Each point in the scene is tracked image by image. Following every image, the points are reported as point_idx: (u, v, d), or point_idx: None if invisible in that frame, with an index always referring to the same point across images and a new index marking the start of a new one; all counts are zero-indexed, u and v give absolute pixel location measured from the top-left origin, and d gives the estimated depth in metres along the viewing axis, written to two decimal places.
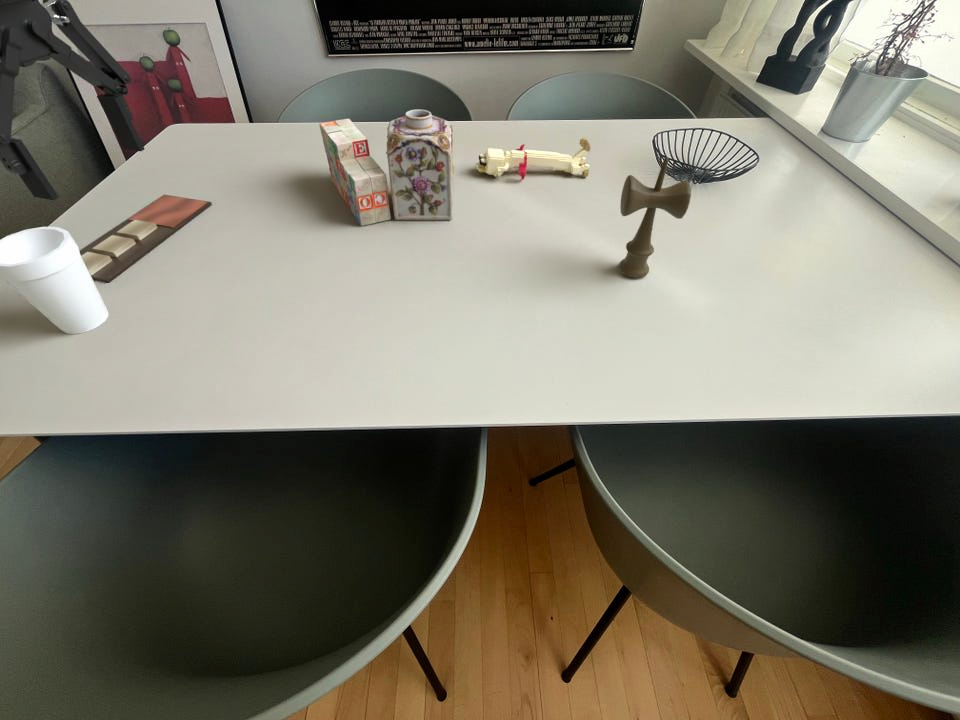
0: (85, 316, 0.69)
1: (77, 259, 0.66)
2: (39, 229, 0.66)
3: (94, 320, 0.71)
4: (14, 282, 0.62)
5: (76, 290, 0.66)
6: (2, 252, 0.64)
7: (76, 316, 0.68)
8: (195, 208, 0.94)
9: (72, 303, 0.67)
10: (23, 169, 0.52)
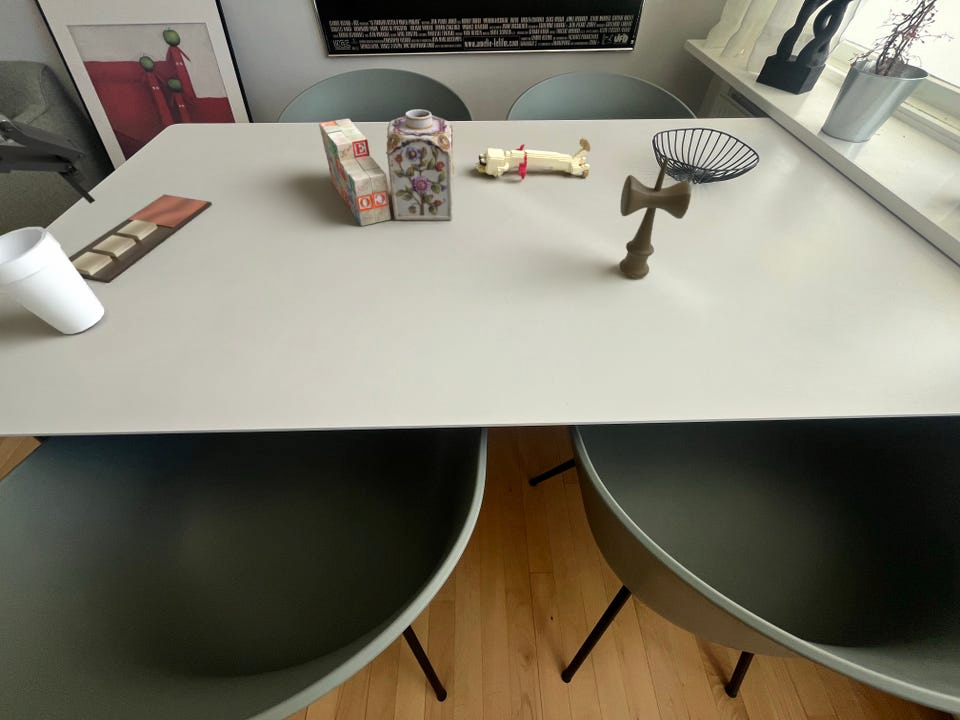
0: (75, 316, 0.68)
1: (57, 259, 0.64)
2: (24, 230, 0.65)
3: (86, 320, 0.70)
4: None
5: (60, 291, 0.65)
6: None
7: (66, 316, 0.67)
8: (195, 208, 0.94)
9: (58, 304, 0.66)
10: None
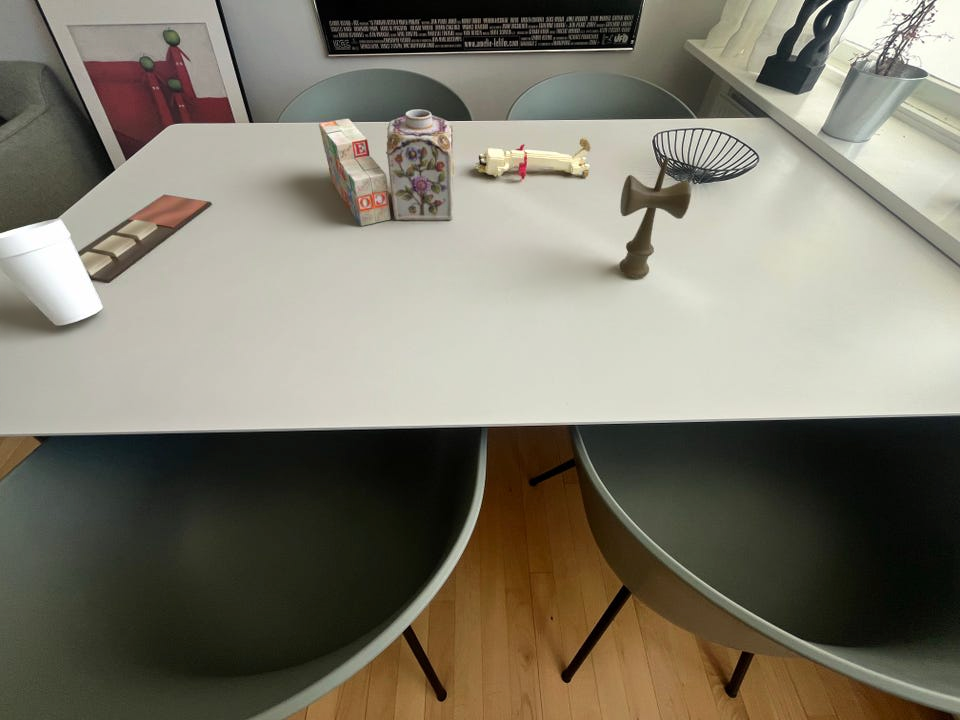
0: (72, 303, 0.68)
1: (65, 242, 0.66)
2: (39, 223, 0.68)
3: (83, 309, 0.69)
4: (0, 261, 0.63)
5: (61, 273, 0.66)
6: None
7: (63, 302, 0.67)
8: (195, 208, 0.94)
9: (57, 286, 0.66)
10: None
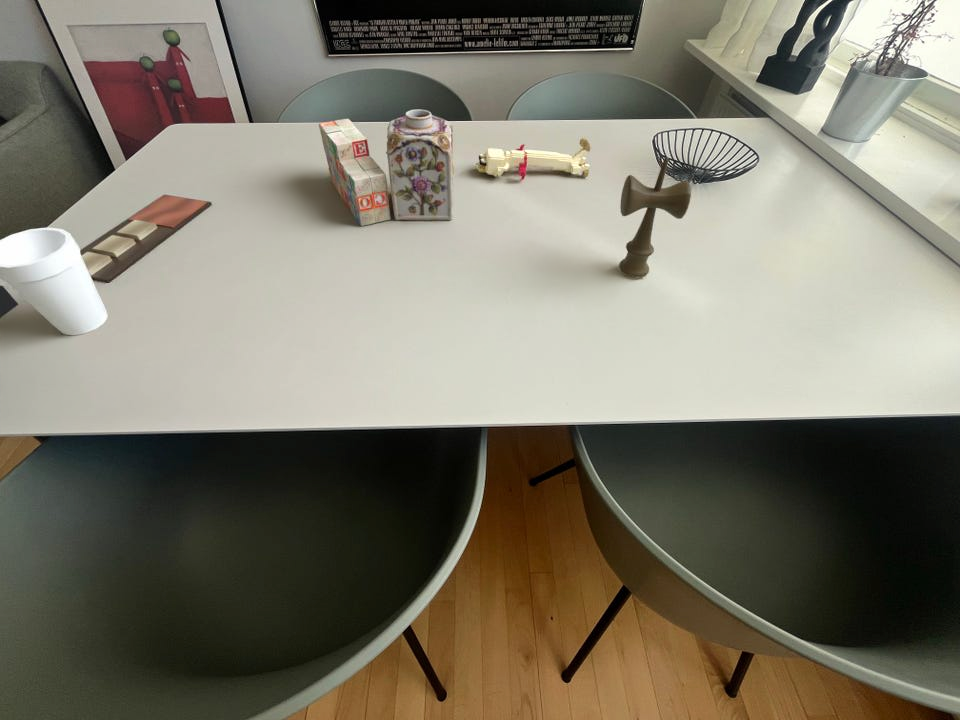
0: (82, 318, 0.69)
1: (77, 262, 0.65)
2: (43, 230, 0.66)
3: (91, 323, 0.70)
4: (12, 283, 0.62)
5: (74, 293, 0.66)
6: (4, 251, 0.64)
7: (73, 318, 0.68)
8: (195, 208, 0.94)
9: (69, 305, 0.67)
10: None
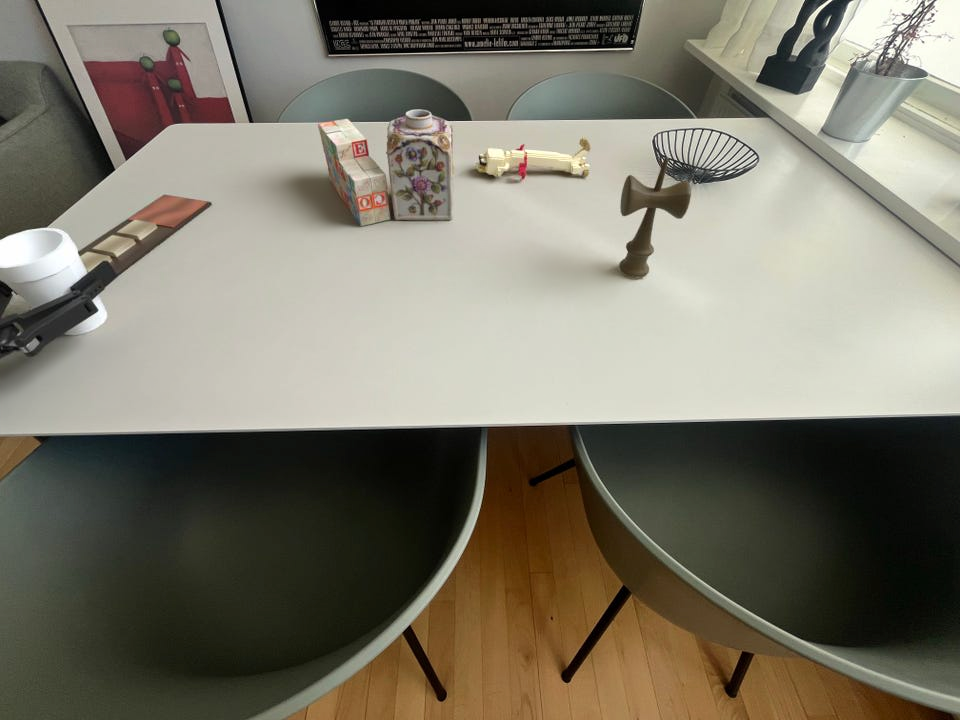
0: None
1: (75, 262, 0.65)
2: (40, 230, 0.66)
3: (91, 322, 0.70)
4: (10, 283, 0.62)
5: None
6: (2, 252, 0.64)
7: None
8: (195, 208, 0.94)
9: None
10: None
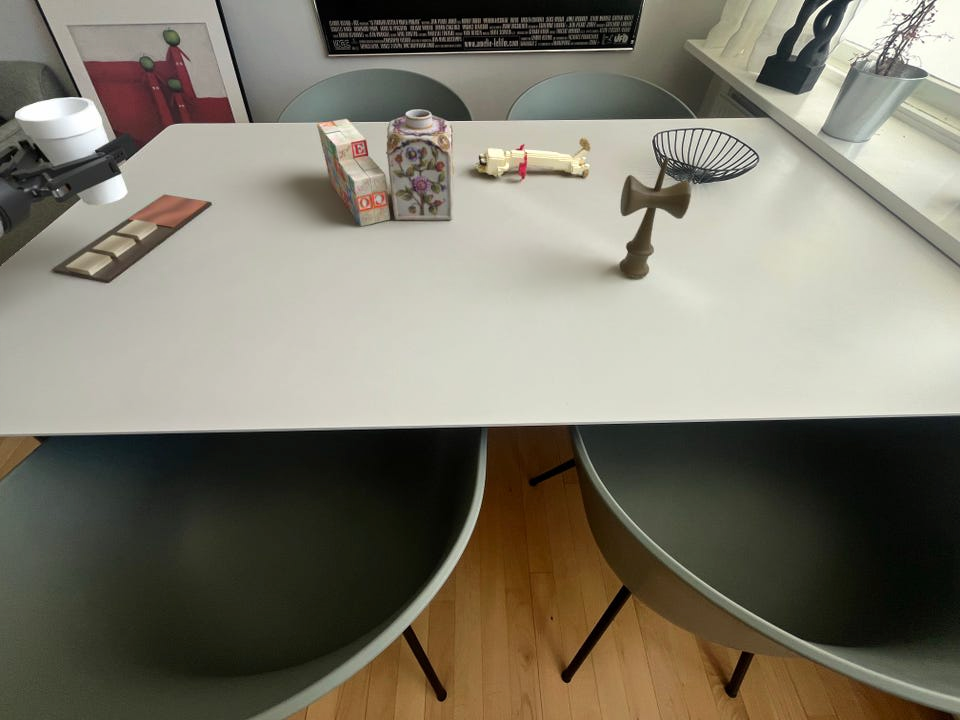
0: (105, 187, 0.74)
1: (99, 128, 0.70)
2: (67, 99, 0.70)
3: (113, 193, 0.75)
4: (40, 140, 0.66)
5: None
6: (32, 115, 0.68)
7: (96, 185, 0.73)
8: (195, 208, 0.94)
9: None
10: None
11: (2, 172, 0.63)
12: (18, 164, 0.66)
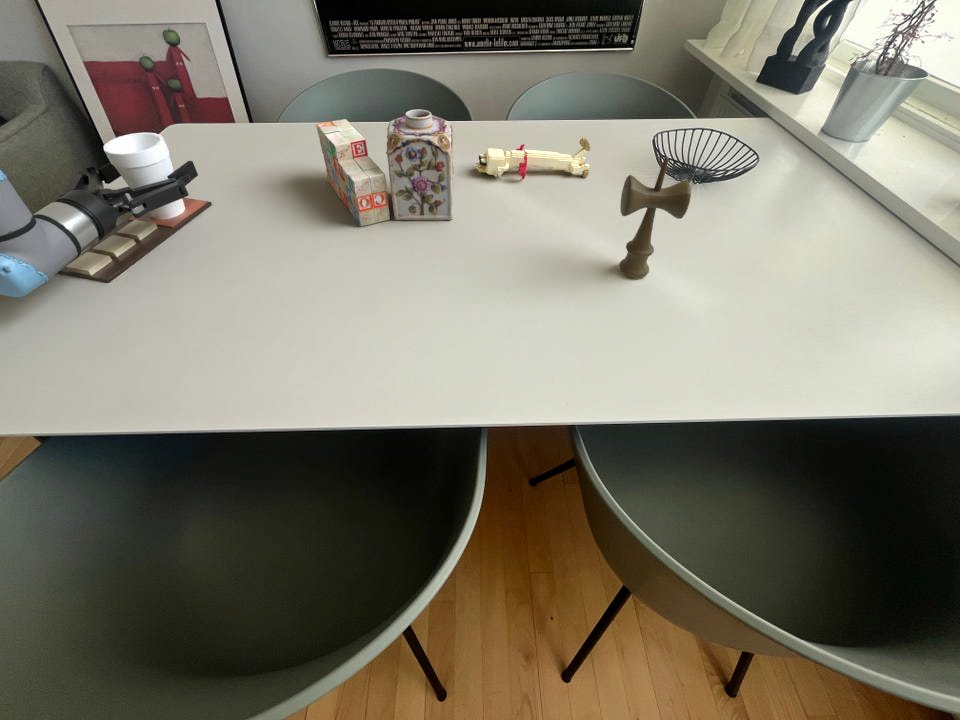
0: (169, 205, 0.90)
1: (167, 157, 0.86)
2: (141, 134, 0.87)
3: (175, 209, 0.91)
4: (123, 169, 0.83)
5: None
6: (115, 148, 0.85)
7: None
8: (195, 208, 0.94)
9: None
10: None
11: (94, 192, 0.79)
12: (97, 185, 0.82)
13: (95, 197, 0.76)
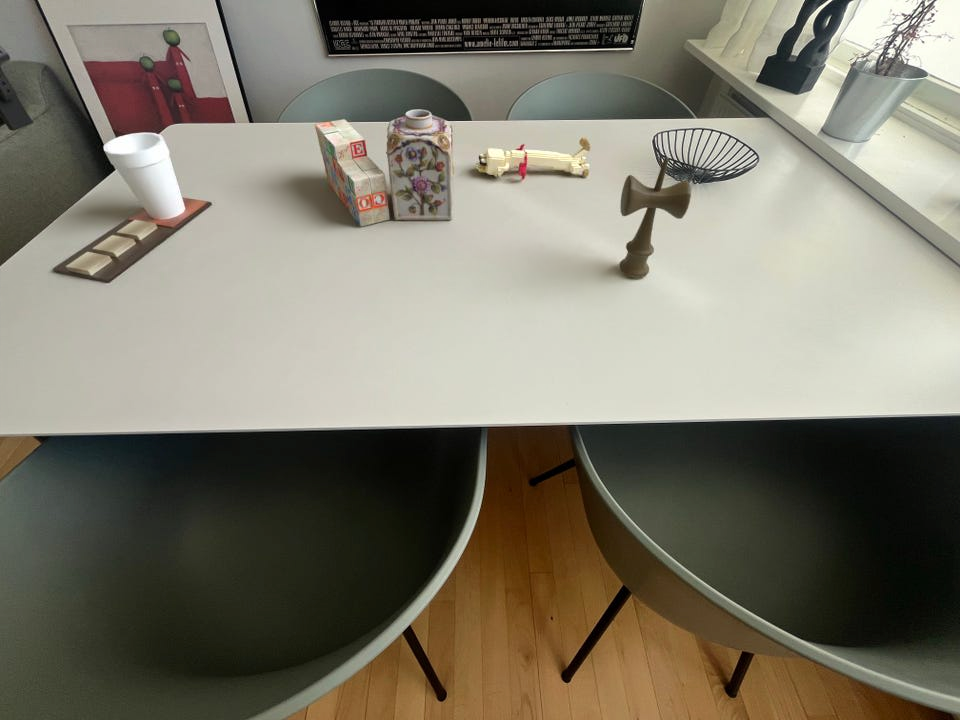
0: (169, 205, 0.90)
1: (167, 157, 0.86)
2: (141, 134, 0.87)
3: (175, 209, 0.91)
4: (123, 169, 0.83)
5: (165, 182, 0.87)
6: (115, 148, 0.85)
7: (163, 203, 0.89)
8: (195, 208, 0.94)
9: (161, 192, 0.88)
10: None
11: None
12: None
13: None
